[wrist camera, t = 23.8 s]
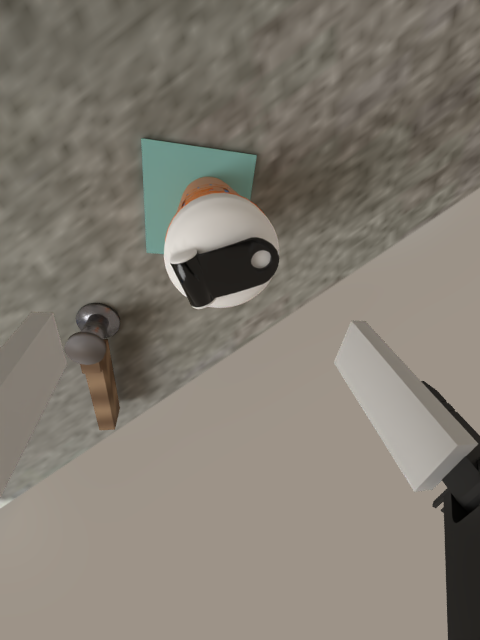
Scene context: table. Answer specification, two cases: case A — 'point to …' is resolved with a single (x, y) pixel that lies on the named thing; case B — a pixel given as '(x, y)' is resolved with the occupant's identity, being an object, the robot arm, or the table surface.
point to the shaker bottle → (219, 246)
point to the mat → (184, 180)
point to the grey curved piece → (98, 320)
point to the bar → (96, 375)
